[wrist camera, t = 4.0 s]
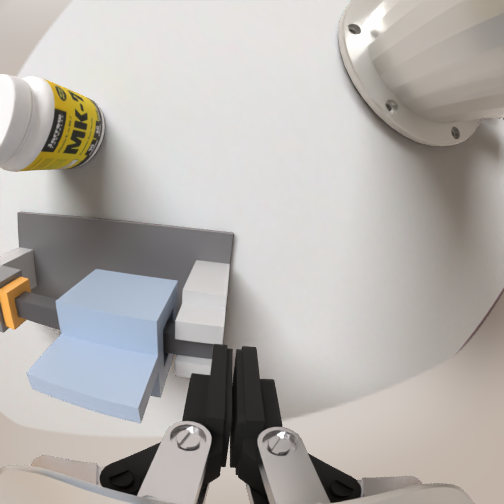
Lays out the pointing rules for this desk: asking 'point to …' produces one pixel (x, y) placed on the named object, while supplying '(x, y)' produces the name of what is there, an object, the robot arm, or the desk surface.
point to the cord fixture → (124, 261)
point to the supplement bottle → (46, 125)
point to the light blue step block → (109, 344)
